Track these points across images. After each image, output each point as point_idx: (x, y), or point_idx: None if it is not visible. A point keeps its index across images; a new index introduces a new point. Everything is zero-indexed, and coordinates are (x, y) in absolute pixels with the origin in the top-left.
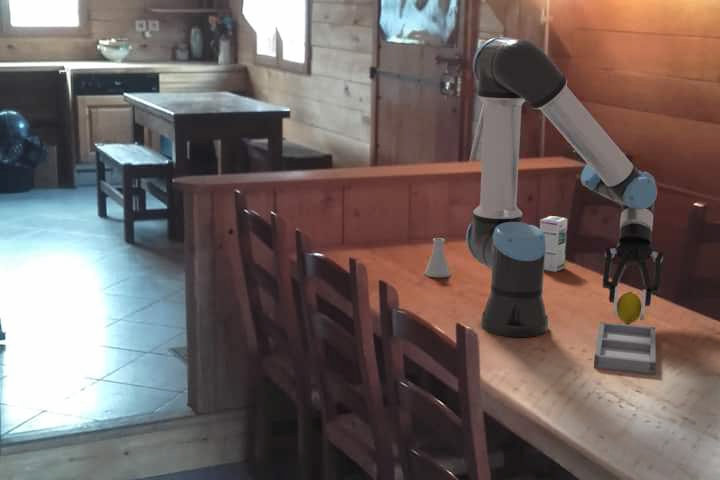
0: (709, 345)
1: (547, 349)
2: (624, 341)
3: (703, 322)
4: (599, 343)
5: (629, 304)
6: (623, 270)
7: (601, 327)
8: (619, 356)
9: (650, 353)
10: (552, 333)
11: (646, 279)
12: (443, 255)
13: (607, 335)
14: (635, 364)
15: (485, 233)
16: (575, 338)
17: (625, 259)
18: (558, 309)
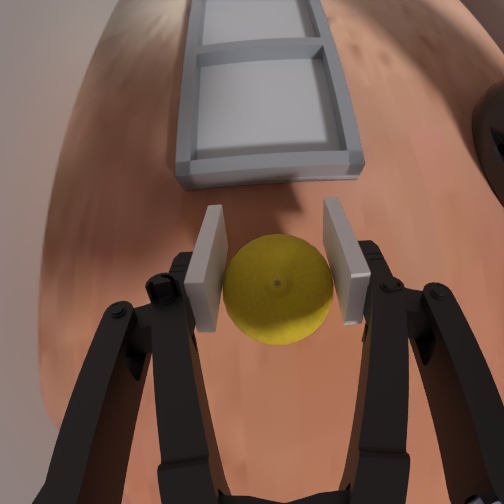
0: (56, 198)
1: (421, 45)
2: (263, 40)
3: (59, 398)
4: (320, 18)
5: (274, 234)
6: (352, 440)
7: (348, 114)
8: (269, 21)
9: (200, 11)
10: (459, 136)
11: (172, 344)
12: None
13: (324, 125)
14: None
15: None
16: (401, 113)
17: (367, 474)
18: (495, 363)
